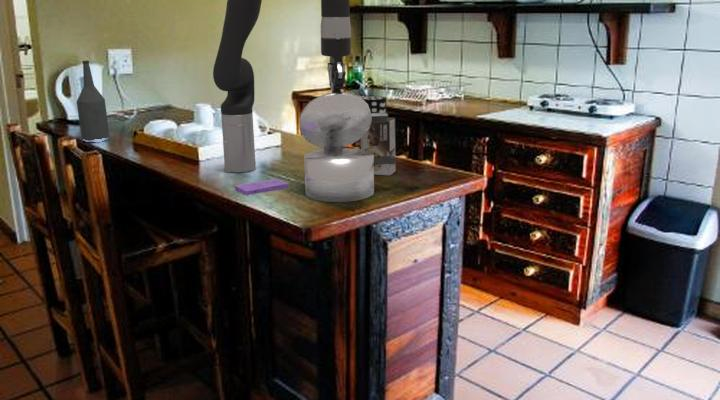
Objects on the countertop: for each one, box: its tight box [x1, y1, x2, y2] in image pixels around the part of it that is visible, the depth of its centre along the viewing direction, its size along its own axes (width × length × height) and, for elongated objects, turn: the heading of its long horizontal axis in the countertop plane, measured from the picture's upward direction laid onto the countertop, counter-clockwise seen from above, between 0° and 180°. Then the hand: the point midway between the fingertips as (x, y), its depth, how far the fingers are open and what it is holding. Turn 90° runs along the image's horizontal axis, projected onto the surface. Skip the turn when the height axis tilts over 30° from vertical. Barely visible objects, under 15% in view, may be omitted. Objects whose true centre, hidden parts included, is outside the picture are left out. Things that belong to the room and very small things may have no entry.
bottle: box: [76, 60, 111, 140], centre depth 234 cm, size 10×10×30 cm
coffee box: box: [361, 117, 397, 176], centre depth 183 cm, size 9×6×16 cm
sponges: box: [234, 178, 289, 196], centre depth 168 cm, size 7×13×2 cm, turn 123°
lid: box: [298, 91, 389, 149], centre depth 164 cm, size 24×20×3 cm
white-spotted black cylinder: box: [359, 96, 387, 150], centre depth 198 cm, size 8×8×20 cm
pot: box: [303, 147, 397, 203], centre depth 163 cm, size 24×18×10 cm
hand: (336, 105), depth 161 cm, fingers closed
